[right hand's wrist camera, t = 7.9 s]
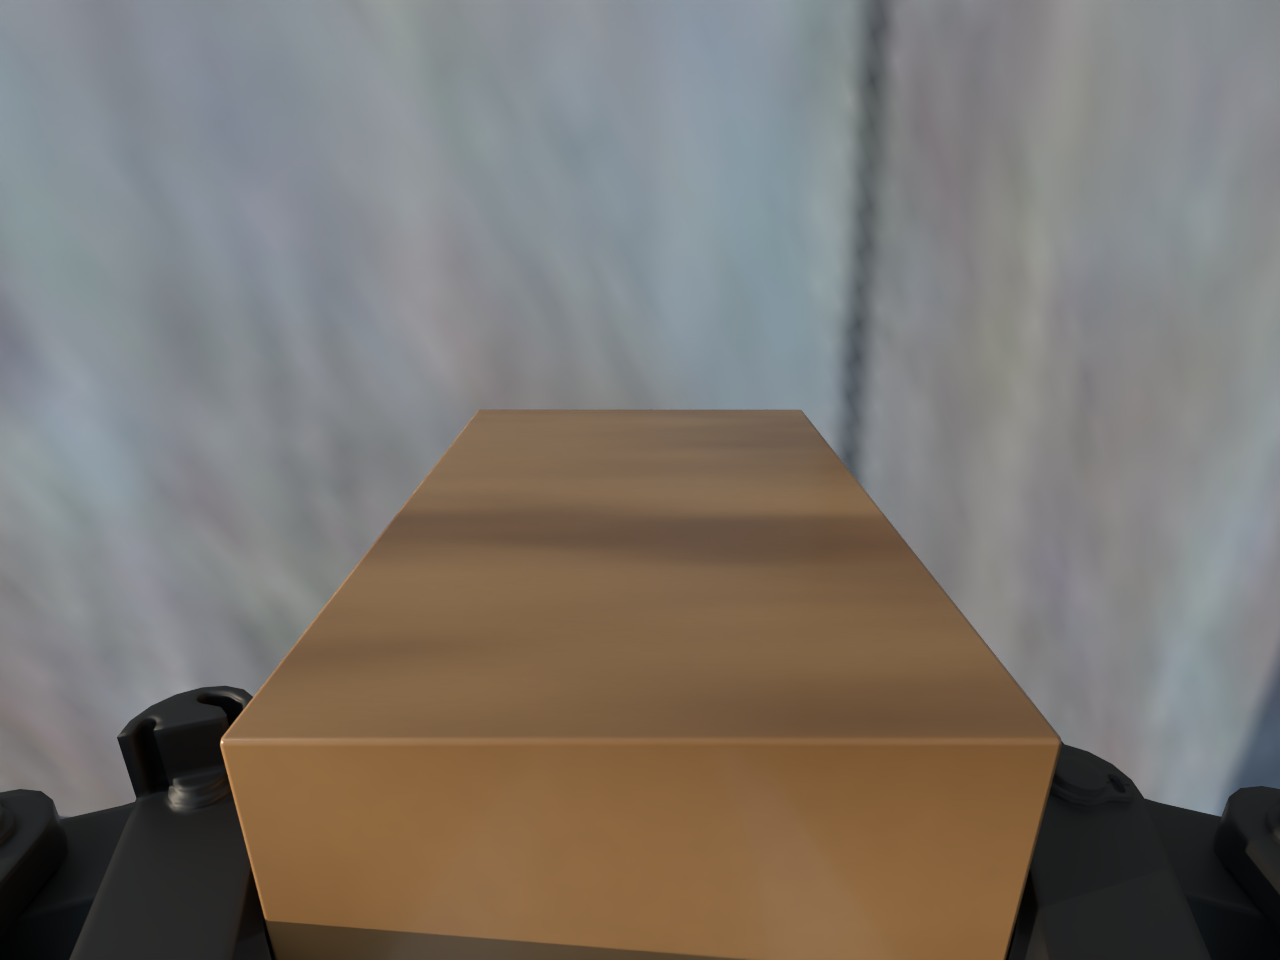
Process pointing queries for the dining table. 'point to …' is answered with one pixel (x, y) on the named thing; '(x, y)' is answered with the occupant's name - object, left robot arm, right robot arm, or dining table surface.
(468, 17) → the dining table surface
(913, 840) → the box
